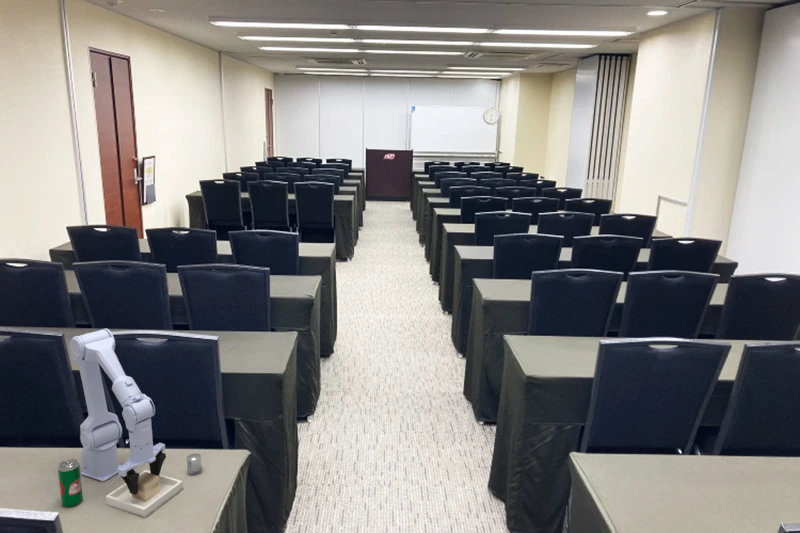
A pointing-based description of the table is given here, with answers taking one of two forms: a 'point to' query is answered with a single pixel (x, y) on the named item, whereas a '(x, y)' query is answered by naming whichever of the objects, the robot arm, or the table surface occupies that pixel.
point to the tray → (127, 503)
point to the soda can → (70, 483)
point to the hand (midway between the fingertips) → (144, 485)
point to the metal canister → (194, 464)
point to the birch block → (147, 486)
